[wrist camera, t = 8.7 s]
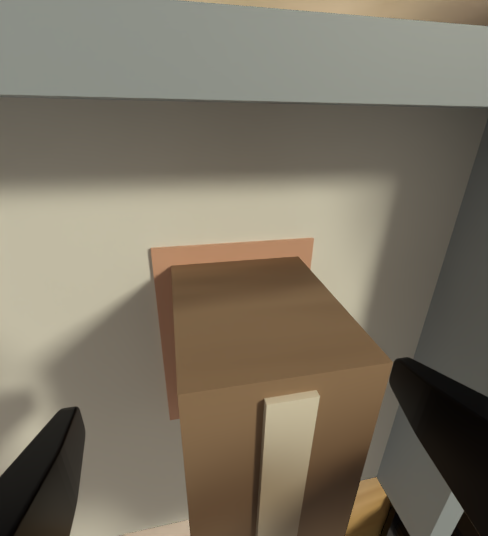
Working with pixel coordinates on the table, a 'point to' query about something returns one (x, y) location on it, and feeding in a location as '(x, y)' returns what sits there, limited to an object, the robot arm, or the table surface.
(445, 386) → the robot arm
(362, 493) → the table surface
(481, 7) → the table surface
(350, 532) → the table surface
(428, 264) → the arena
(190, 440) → the walnut block
